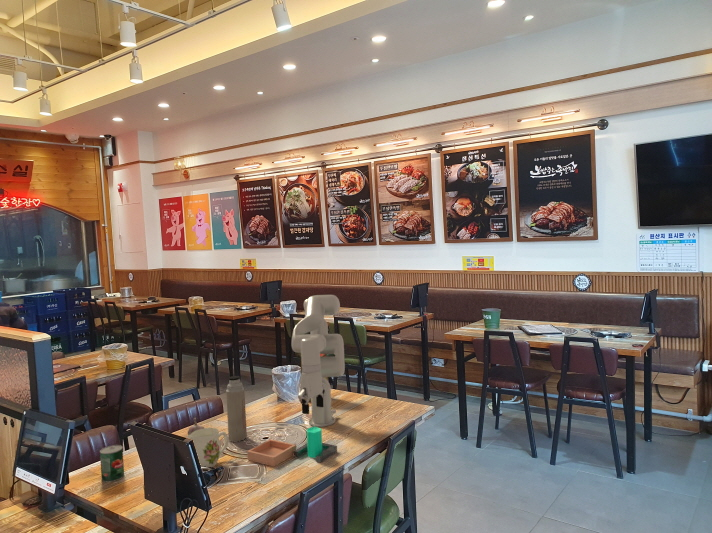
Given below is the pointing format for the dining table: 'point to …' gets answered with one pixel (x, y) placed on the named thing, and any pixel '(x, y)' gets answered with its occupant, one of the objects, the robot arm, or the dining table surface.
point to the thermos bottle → (236, 409)
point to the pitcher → (208, 445)
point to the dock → (327, 452)
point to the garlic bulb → (194, 427)
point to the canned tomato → (112, 463)
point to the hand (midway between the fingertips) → (313, 410)
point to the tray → (271, 452)
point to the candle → (314, 441)
